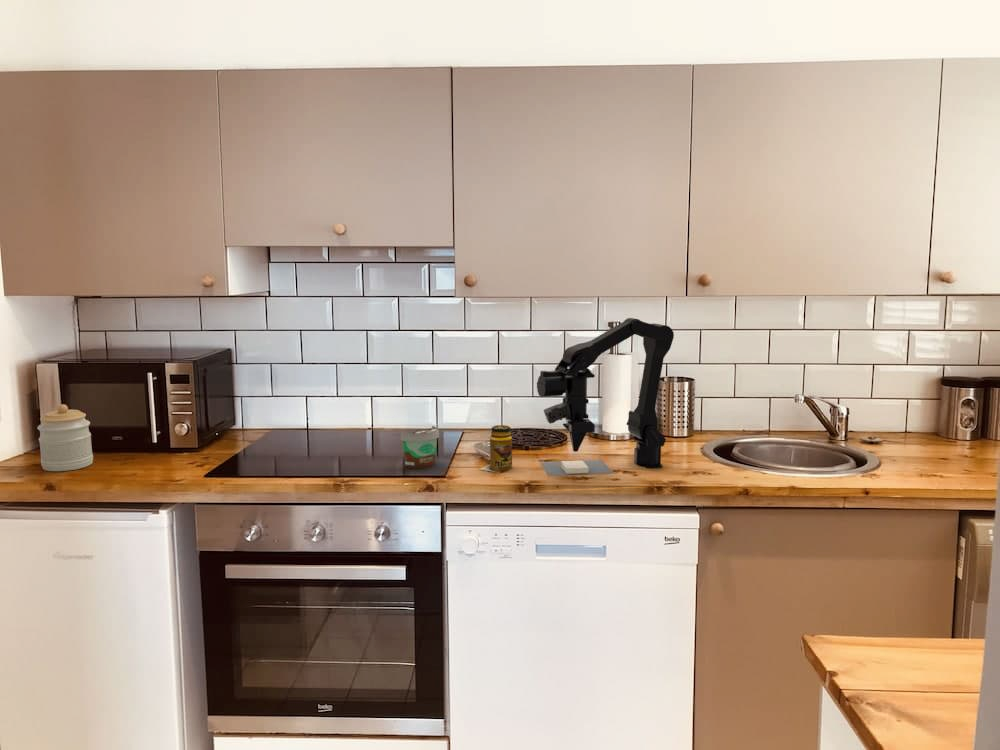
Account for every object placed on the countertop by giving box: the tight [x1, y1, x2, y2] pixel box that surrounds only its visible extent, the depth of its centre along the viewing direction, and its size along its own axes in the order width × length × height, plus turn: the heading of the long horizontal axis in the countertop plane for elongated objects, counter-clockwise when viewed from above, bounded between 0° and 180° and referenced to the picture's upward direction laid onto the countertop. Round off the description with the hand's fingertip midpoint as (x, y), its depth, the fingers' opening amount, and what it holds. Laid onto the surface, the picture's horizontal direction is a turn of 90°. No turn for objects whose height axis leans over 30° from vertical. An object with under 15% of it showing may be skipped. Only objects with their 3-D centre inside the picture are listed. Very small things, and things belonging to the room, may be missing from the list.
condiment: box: [479, 424, 513, 474], centre depth 218 cm, size 7×8×12 cm
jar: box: [37, 403, 94, 472], centre depth 222 cm, size 13×13×18 cm
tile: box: [560, 460, 588, 474], centre depth 215 cm, size 6×2×7 cm
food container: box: [400, 425, 440, 469], centre depth 222 cm, size 12×6×10 cm, turn 137°
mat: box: [539, 459, 615, 477], centre depth 218 cm, size 18×14×1 cm
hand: (575, 451), depth 214 cm, fingers closed
